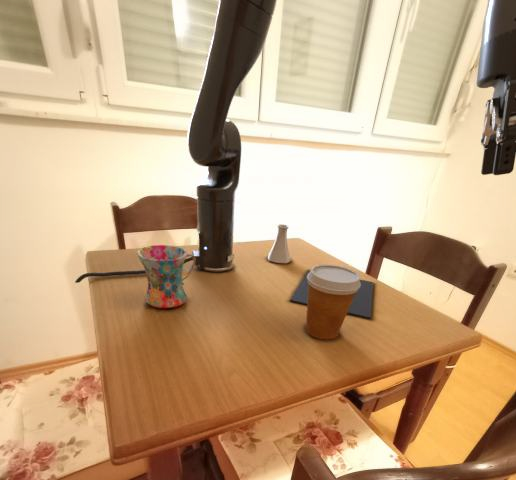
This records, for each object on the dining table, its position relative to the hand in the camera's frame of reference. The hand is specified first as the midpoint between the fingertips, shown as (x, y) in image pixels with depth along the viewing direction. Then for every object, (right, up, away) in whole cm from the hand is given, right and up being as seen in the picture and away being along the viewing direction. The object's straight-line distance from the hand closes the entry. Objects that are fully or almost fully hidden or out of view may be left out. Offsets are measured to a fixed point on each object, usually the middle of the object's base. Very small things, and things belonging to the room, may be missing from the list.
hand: (495, 174), depth 47 cm
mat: (-17, -12, +31) cm, 37 cm away
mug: (-54, -16, +20) cm, 60 cm away
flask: (-30, 0, +48) cm, 56 cm away
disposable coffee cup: (-23, -23, +14) cm, 36 cm away
